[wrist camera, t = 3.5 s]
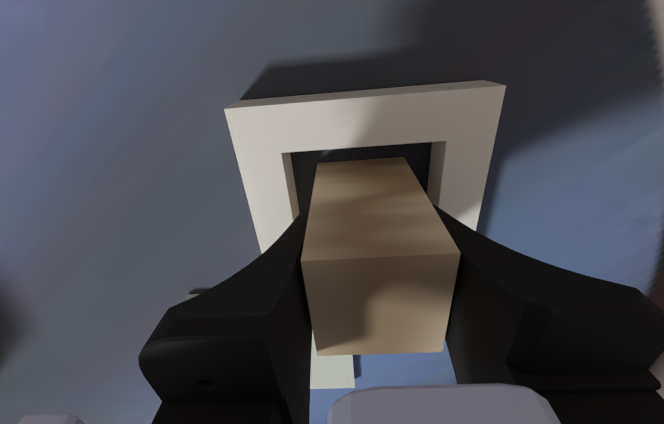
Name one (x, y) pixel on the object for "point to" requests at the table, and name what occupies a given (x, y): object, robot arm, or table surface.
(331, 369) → the tile
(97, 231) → the table surface
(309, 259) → the birch block
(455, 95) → the holder
